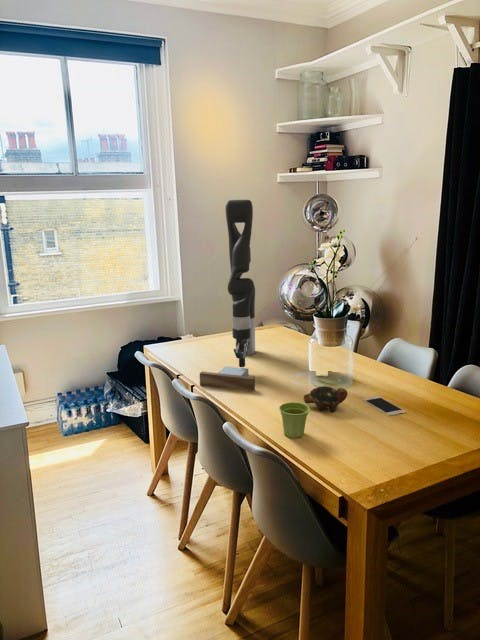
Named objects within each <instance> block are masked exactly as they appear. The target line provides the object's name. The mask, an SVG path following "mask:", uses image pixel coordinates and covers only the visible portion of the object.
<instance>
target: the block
mask: <svg viewBox="0 0 480 640" xmlns="http://www.w3.org/2000/svg"><path fill="white" fill-rule="evenodd" d="M217 373H222V374H231V375H240V376H249V368H245V367H237V366H236V367H234V366H226V365H225V366H224V367H223V368H222V369H220V370H219V371H217ZM249 377H250V376H249Z"/></svg>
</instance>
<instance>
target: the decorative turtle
mask: <svg viewBox="0 0 480 640" xmlns="http://www.w3.org/2000/svg"><path fill="white" fill-rule="evenodd" d="M348 396H349V395H348V391H347V389H345V388H342V387H340V388H337V389H335V388H334V387H331V386H325V385H323V386H317V387H315V388H313V389H312V390H311V391H310V392H309V393H307V394H304V395H303V401H304V404H314V405H315V406H316V408H317V410H318V411H320V412H322V411H323V410H325V409H326V408H327V409H328V410H329V411H330V412H331V413H334V412H335V411H336V410H337V408H338V406H339V405H340V404H341V403H343V402H344V401H345V400H346V398H347V397H348Z"/></svg>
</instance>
